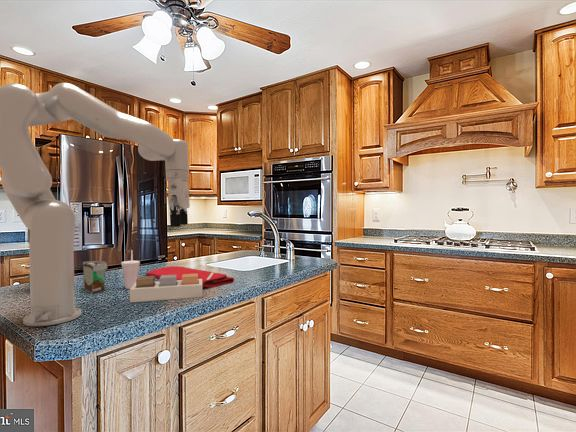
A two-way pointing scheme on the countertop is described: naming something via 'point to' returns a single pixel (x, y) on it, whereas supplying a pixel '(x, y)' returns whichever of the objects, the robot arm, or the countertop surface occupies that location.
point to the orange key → (189, 279)
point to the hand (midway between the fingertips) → (179, 225)
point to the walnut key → (145, 281)
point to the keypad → (166, 292)
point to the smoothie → (130, 271)
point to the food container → (94, 276)
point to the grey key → (168, 280)
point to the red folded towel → (207, 277)
